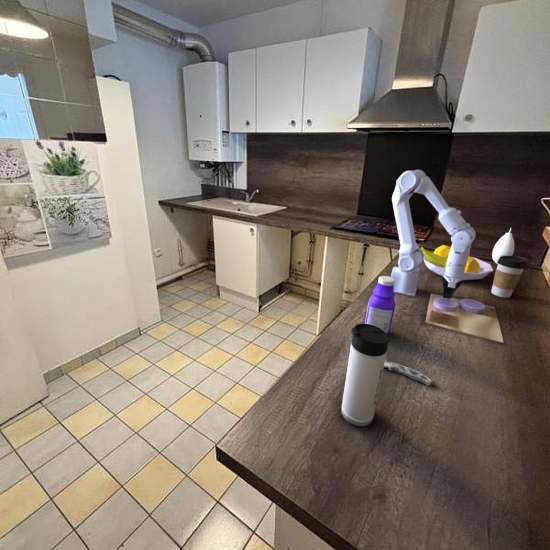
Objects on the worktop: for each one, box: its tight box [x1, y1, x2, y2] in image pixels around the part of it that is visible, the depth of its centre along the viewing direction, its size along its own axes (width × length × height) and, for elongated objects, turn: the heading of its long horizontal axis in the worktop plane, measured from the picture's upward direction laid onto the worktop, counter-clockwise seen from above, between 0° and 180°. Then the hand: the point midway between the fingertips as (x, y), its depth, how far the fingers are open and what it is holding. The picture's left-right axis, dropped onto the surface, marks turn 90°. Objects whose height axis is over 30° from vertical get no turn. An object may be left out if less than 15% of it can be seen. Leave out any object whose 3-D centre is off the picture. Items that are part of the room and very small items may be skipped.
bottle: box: [364, 275, 397, 336], centre depth 82 cm, size 7×6×17 cm
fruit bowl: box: [420, 244, 494, 281], centre depth 127 cm, size 28×27×11 cm
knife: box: [384, 359, 433, 386], centre depth 71 cm, size 2×18×3 cm
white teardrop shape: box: [491, 227, 515, 265], centre depth 138 cm, size 8×8×18 cm
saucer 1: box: [433, 297, 458, 312], centre depth 100 cm, size 7×7×2 cm
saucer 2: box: [459, 298, 486, 314], centre depth 99 cm, size 7×7×2 cm
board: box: [424, 292, 505, 344], centre depth 96 cm, size 20×24×1 cm
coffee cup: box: [490, 255, 528, 299], centre depth 108 cm, size 8×8×15 cm
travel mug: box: [340, 323, 390, 427], centre depth 55 cm, size 6×7×20 cm
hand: (446, 298), depth 103 cm, fingers closed
